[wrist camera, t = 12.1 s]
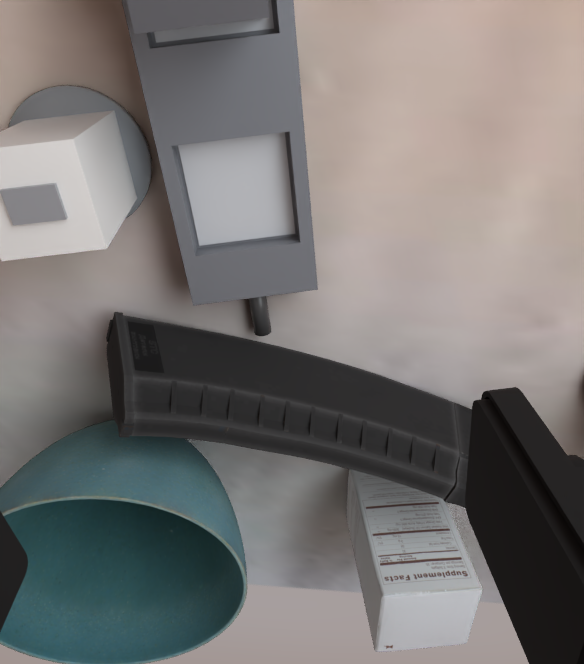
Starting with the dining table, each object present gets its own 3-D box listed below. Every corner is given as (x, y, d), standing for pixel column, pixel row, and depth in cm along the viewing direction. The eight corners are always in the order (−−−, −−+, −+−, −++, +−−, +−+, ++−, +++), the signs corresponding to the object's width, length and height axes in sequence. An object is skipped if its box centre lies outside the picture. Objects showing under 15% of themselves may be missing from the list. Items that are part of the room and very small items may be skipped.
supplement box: (419, 511, 50) (468, 647, 39) (344, 516, 49) (372, 655, 38) (430, 456, 46) (487, 590, 35) (348, 461, 45) (380, 599, 34)
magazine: (29, 413, 29) (521, 629, 28) (35, 367, 27) (556, 596, 27) (159, 300, 44) (481, 440, 43) (168, 267, 42) (501, 412, 42)
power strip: (316, 319, 37) (323, 346, 34) (208, 333, 37) (204, 361, 34) (268, -225, 22) (272, -264, 19) (87, -204, 22) (62, -240, 19)
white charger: (136, 198, 31) (105, 250, 24) (54, 207, 31) (-1, 263, 24) (114, 110, 28) (71, 140, 21) (24, 120, 28) (-48, 154, 21)
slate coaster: (165, 216, 32) (164, 219, 32) (39, 232, 32) (36, 235, 32) (131, 76, 28) (129, 77, 28) (-13, 94, 28) (-18, 95, 27)
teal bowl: (247, 367, 39) (248, 494, 29) (245, 523, 48) (246, 661, 38) (-2, 367, 37) (-98, 502, 27) (46, 529, 47) (-10, 676, 36)
